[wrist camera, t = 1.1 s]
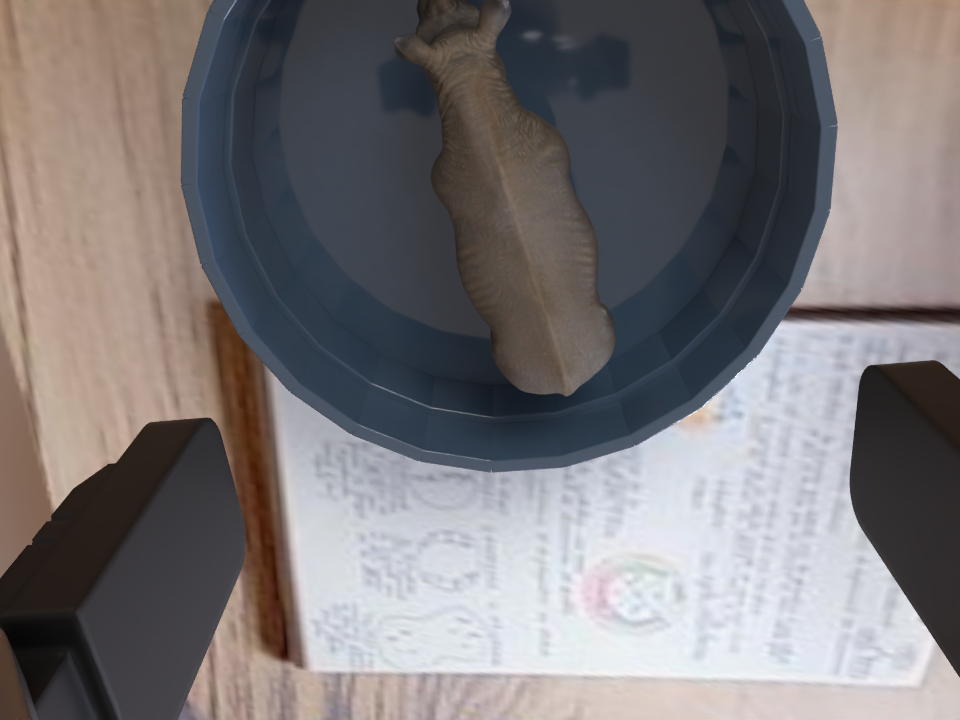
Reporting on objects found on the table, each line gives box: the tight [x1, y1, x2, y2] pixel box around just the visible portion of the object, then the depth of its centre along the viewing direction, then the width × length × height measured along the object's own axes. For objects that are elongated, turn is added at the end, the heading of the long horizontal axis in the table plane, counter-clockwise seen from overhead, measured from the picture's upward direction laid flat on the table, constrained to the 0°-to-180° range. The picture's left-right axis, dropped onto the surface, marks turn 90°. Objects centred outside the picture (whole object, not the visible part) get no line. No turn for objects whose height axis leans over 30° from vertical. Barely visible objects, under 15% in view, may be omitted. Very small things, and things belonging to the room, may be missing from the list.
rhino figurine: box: [394, 0, 616, 396], centre depth 24 cm, size 4×14×6 cm, turn 19°
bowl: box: [181, 0, 838, 472], centre depth 25 cm, size 17×17×5 cm
